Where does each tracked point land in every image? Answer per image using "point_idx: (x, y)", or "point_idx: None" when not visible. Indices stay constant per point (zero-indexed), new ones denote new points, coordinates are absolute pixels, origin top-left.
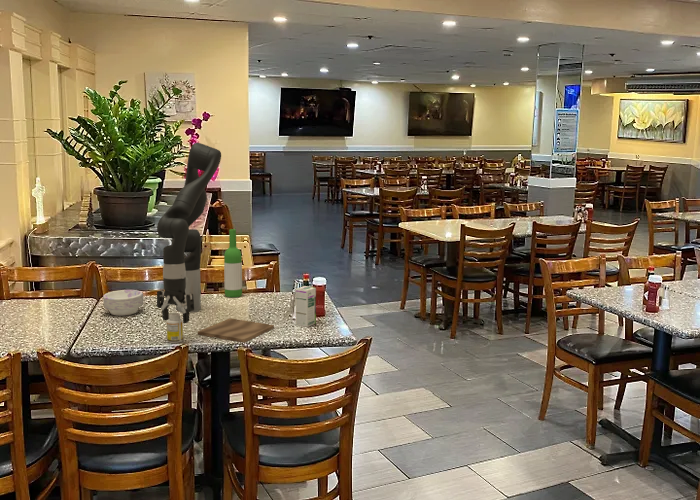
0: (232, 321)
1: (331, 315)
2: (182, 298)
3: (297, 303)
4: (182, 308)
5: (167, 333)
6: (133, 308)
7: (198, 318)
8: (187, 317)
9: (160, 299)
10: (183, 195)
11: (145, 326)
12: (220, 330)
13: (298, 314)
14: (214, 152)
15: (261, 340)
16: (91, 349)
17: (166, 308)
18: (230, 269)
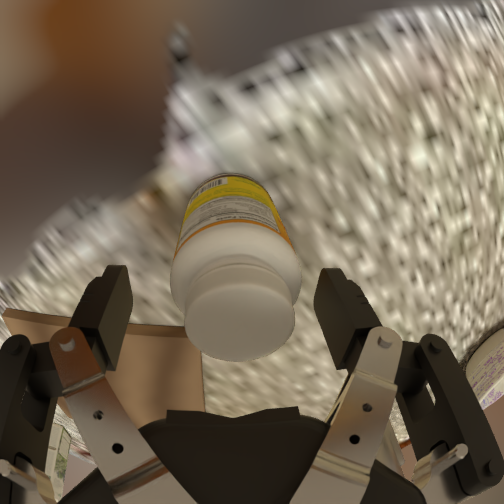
0: None
1: (75, 454)
2: (67, 496)
3: (48, 466)
4: (78, 371)
5: (263, 197)
6: (481, 361)
7: (306, 415)
8: (81, 310)
9: (443, 416)
10: None
11: (436, 310)
12: (131, 369)
13: (51, 444)
14: None
15: (2, 337)
16: (489, 15)
17: (351, 364)
18: None
